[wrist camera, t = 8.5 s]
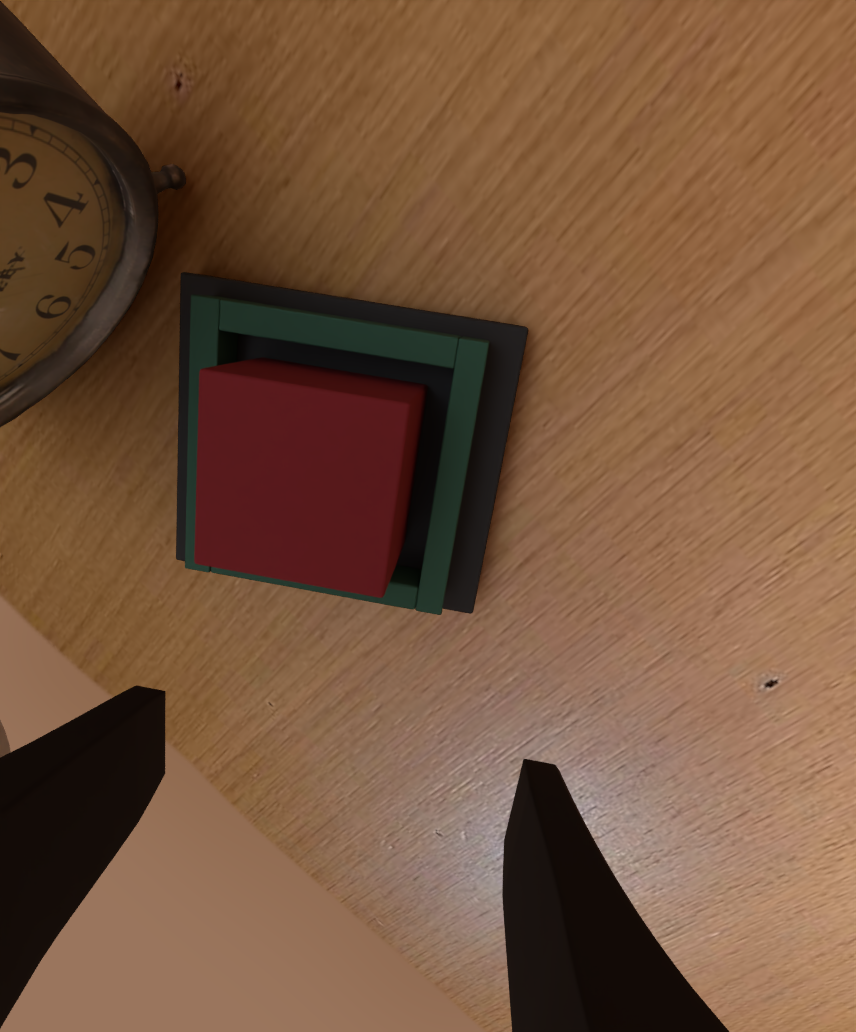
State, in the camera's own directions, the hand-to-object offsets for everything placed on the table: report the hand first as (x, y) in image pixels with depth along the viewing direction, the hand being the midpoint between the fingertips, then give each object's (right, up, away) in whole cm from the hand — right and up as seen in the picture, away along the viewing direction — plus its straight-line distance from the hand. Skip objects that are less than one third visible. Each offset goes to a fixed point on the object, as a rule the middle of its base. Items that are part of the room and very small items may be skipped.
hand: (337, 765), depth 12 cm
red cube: (-1, +7, +6) cm, 10 cm away
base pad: (-1, +7, +8) cm, 11 cm away
